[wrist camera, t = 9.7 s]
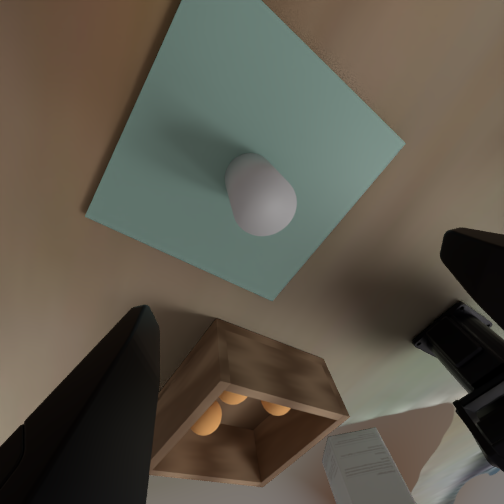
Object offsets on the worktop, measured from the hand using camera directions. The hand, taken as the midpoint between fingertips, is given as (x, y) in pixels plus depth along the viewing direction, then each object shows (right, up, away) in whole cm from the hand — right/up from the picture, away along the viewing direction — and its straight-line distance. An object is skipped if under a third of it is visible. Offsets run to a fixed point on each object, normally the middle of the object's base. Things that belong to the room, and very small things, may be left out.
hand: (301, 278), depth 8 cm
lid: (-2, +6, +10) cm, 12 cm away
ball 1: (-6, -15, +18) cm, 24 cm away
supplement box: (+12, -27, +32) cm, 43 cm away
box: (-3, -13, +20) cm, 24 cm away
